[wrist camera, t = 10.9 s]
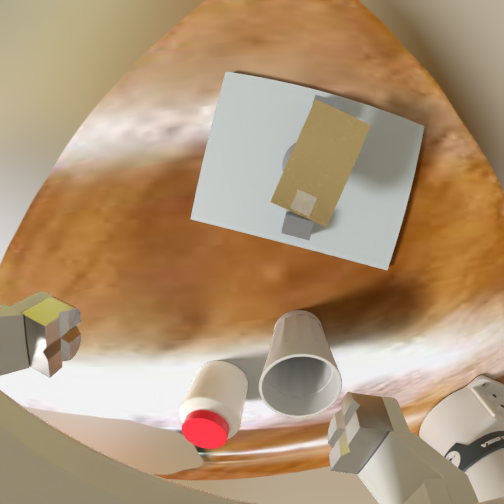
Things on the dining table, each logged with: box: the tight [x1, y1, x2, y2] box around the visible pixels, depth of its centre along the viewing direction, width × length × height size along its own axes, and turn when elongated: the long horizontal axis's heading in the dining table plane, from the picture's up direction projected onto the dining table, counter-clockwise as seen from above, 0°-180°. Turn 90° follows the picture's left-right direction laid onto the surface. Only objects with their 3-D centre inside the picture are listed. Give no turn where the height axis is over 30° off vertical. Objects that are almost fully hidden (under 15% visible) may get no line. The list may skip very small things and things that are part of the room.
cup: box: [259, 310, 342, 418], centre depth 34 cm, size 8×8×12 cm
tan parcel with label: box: [270, 99, 371, 227], centre depth 26 cm, size 9×5×5 cm, turn 157°
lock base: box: [191, 72, 424, 270], centre depth 32 cm, size 24×18×7 cm
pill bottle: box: [179, 361, 248, 449], centre depth 37 cm, size 8×8×11 cm
